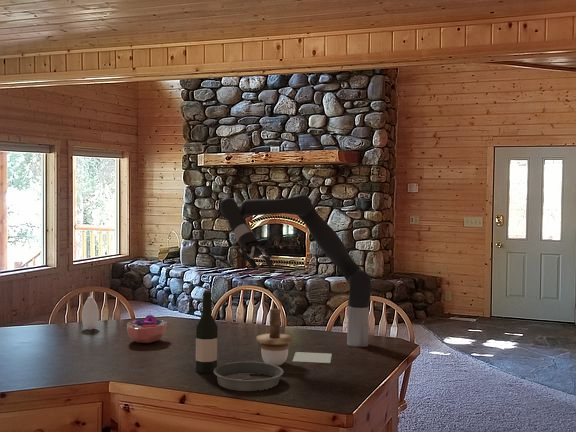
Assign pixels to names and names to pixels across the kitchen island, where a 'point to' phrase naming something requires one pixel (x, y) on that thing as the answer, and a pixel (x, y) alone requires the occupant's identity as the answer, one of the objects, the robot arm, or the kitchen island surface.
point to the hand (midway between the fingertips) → (263, 266)
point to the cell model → (146, 329)
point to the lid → (274, 331)
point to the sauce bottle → (90, 313)
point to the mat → (312, 357)
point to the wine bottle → (206, 338)
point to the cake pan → (248, 368)
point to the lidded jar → (274, 353)
